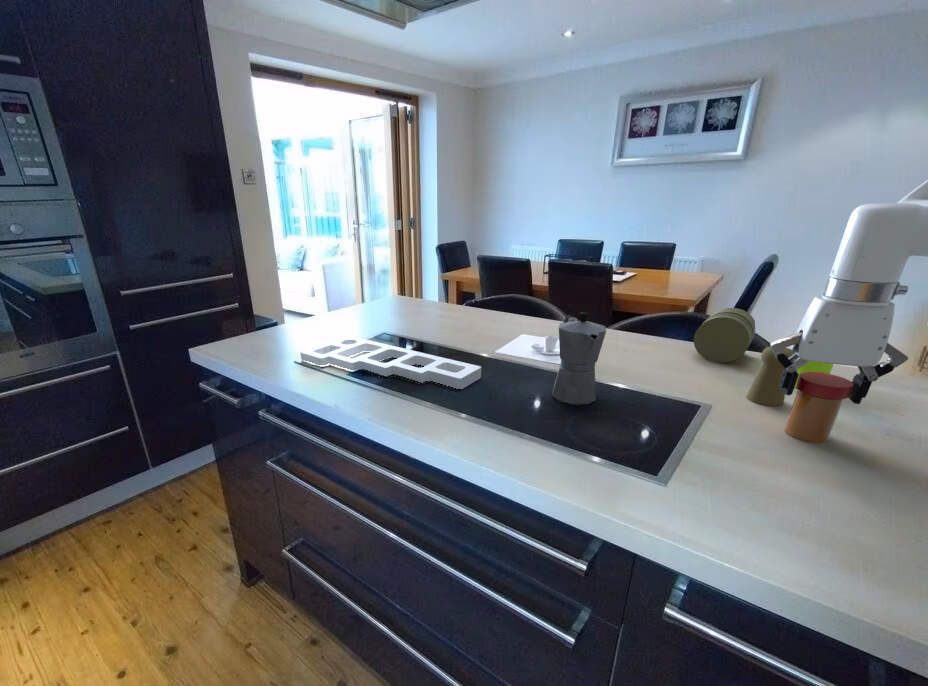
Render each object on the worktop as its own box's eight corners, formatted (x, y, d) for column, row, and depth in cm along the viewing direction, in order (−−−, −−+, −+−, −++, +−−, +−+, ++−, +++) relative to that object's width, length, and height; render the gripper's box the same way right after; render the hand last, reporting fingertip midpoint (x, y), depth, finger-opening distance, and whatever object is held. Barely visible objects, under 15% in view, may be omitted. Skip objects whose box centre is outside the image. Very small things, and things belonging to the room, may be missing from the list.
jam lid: (840, 386, 74) (844, 375, 73) (856, 402, 69) (861, 390, 68) (790, 381, 77) (794, 369, 76) (802, 395, 71) (806, 383, 70)
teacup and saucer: (527, 352, 119) (528, 337, 117) (537, 344, 125) (539, 330, 123) (559, 357, 114) (561, 342, 113) (568, 349, 120) (570, 335, 119)
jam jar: (821, 429, 77) (840, 378, 73) (833, 445, 72) (855, 391, 69) (780, 424, 79) (797, 373, 76) (789, 439, 75) (808, 386, 71)
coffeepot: (609, 408, 87) (624, 319, 80) (562, 410, 86) (572, 321, 79) (579, 379, 101) (589, 301, 94) (538, 381, 101) (545, 303, 94)
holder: (481, 377, 103) (482, 366, 102) (436, 404, 91) (435, 392, 90) (350, 344, 130) (349, 335, 129) (300, 361, 117) (299, 352, 116)
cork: (788, 407, 85) (806, 354, 81) (751, 403, 87) (767, 351, 83) (777, 395, 90) (793, 344, 86) (742, 392, 92) (757, 342, 88)
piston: (749, 354, 113) (762, 311, 109) (742, 367, 105) (755, 321, 101) (699, 345, 120) (709, 305, 116) (689, 357, 112) (699, 314, 108)
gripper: (922, 290, 66) (877, 395, 73) (780, 283, 73) (750, 380, 80) (952, 300, 60) (899, 414, 67) (793, 292, 67) (760, 396, 73)
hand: (818, 395), depth 73 cm, fingers open, 8 cm apart
